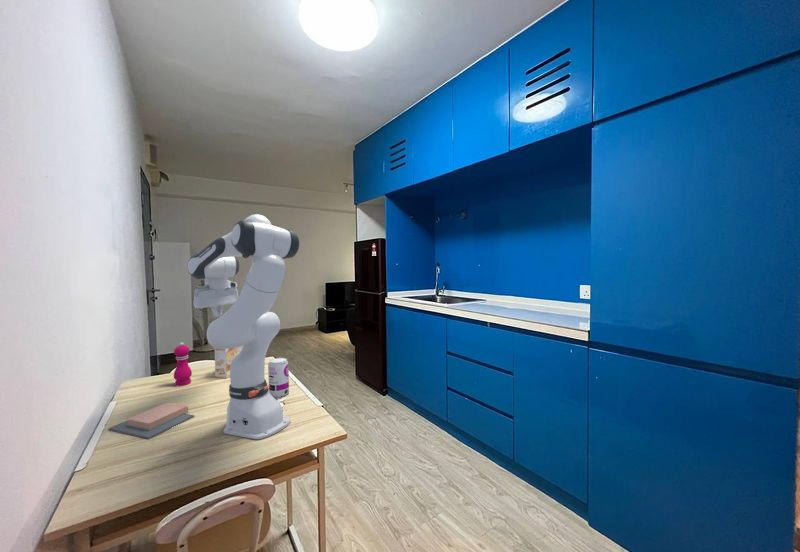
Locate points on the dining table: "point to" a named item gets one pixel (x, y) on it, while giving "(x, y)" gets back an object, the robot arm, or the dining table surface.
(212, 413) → the dining table surface
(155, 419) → the tile
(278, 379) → the supplement can
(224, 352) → the coffeecake box
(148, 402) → the dining table surface
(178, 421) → the mat
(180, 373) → the pepper mill
